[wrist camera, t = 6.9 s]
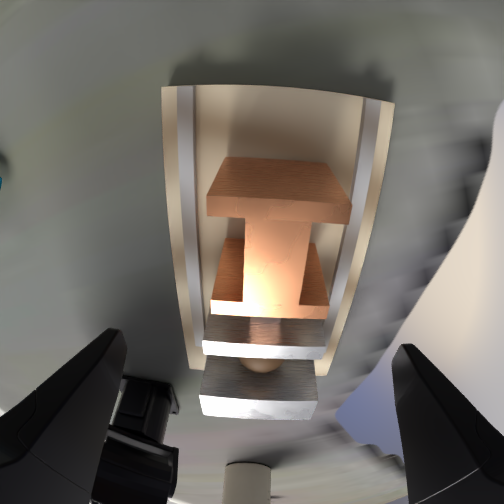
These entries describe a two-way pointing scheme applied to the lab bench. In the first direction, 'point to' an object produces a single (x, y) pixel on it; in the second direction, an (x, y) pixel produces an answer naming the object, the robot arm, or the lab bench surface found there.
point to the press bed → (272, 147)
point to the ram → (271, 258)
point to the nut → (261, 364)
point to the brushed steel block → (258, 390)
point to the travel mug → (246, 484)
